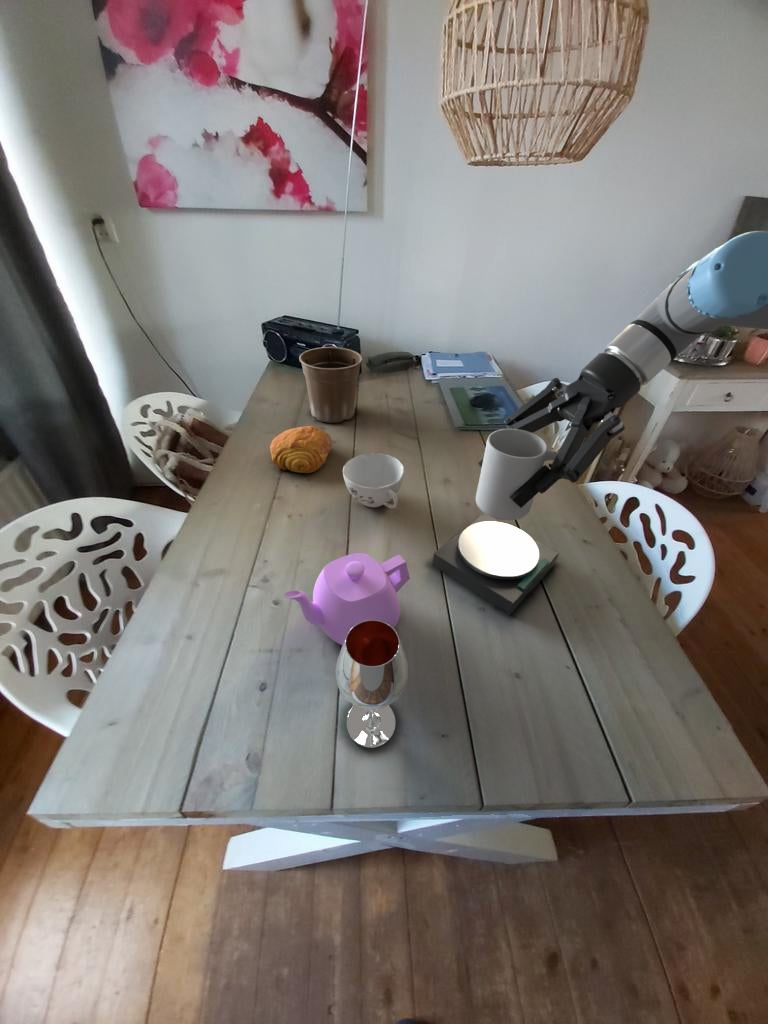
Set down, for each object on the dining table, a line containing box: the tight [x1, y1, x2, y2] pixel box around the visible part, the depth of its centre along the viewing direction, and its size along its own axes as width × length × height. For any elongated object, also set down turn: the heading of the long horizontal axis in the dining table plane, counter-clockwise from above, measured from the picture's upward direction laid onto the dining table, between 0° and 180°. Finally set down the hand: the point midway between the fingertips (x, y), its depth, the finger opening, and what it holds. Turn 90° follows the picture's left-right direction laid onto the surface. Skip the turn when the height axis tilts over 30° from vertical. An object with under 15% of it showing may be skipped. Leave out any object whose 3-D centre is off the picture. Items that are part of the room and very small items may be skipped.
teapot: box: [283, 552, 411, 646], centre depth 67 cm, size 13×20×11 cm, turn 119°
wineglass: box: [334, 620, 409, 749], centre depth 52 cm, size 8×8×18 cm
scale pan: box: [458, 521, 539, 580], centre depth 78 cm, size 14×14×1 cm
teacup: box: [342, 452, 405, 509], centre depth 91 cm, size 15×12×8 cm
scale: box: [432, 512, 560, 616], centre depth 79 cm, size 16×16×4 cm
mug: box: [475, 428, 559, 521], centre depth 66 cm, size 12×8×11 cm
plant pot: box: [298, 346, 363, 424], centre depth 120 cm, size 16×16×16 cm
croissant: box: [269, 425, 332, 474], centre depth 105 cm, size 14×16×8 cm
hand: (498, 484), depth 66 cm, fingers closed on mug, 8 cm apart
